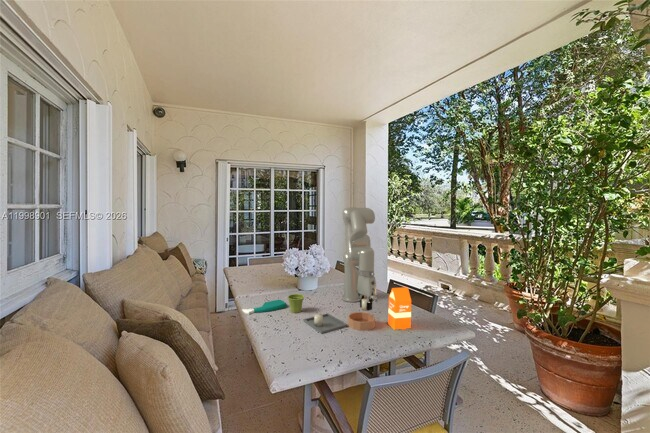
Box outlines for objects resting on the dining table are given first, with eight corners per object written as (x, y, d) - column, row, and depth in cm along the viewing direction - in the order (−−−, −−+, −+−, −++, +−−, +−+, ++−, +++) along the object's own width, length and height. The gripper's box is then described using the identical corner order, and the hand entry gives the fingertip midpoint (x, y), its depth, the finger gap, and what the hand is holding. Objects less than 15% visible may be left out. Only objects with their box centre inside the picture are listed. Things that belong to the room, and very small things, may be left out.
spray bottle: (288, 308, 173) (248, 318, 159) (279, 303, 182) (241, 311, 168) (288, 303, 173) (247, 312, 159) (279, 298, 182) (241, 306, 168)
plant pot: (301, 315, 162) (301, 299, 161) (285, 313, 164) (285, 298, 163) (305, 309, 171) (306, 294, 170) (290, 308, 173) (290, 293, 172)
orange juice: (387, 323, 151) (388, 285, 150) (403, 322, 153) (404, 285, 152) (394, 330, 144) (395, 290, 143) (410, 328, 146) (411, 289, 145)
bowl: (362, 318, 158) (362, 310, 158) (380, 327, 147) (380, 318, 147) (342, 323, 151) (342, 315, 150) (359, 333, 139) (359, 324, 139)
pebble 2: (366, 307, 153) (366, 297, 153) (372, 309, 149) (372, 300, 149) (359, 308, 150) (360, 299, 150) (365, 311, 147) (365, 301, 146)
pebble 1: (319, 322, 150) (320, 313, 150) (324, 325, 147) (324, 316, 146) (312, 324, 148) (312, 315, 148) (317, 327, 144) (317, 317, 144)
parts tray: (327, 315, 161) (327, 313, 161) (347, 327, 146) (347, 324, 146) (303, 322, 152) (303, 319, 152) (321, 334, 138) (321, 331, 138)
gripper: (383, 275, 144) (383, 312, 145) (361, 269, 158) (360, 302, 159) (372, 277, 140) (371, 315, 141) (350, 271, 154) (350, 305, 155)
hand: (366, 308), depth 150 cm, fingers closed on pebble 2, 4 cm apart
